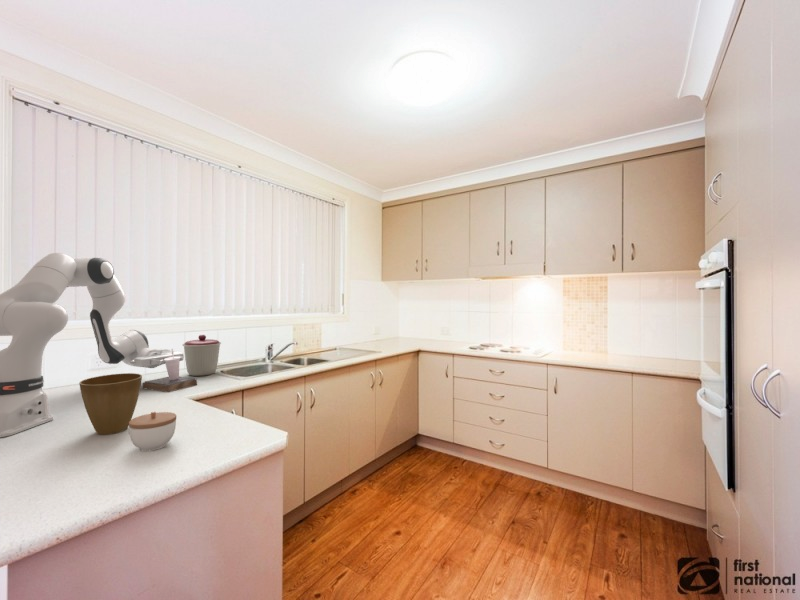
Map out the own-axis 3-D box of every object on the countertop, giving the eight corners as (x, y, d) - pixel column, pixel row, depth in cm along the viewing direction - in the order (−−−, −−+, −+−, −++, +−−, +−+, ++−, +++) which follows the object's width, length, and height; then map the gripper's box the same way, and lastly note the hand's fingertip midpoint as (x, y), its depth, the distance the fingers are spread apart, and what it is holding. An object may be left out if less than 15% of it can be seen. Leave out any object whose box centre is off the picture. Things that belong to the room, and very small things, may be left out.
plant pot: (92, 425, 114) (92, 375, 114) (148, 420, 119) (148, 372, 119) (68, 443, 100) (68, 385, 100) (132, 436, 105) (132, 381, 105)
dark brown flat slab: (168, 391, 155) (168, 384, 155) (142, 388, 161) (142, 381, 161) (196, 384, 168) (196, 378, 168) (172, 381, 174) (172, 375, 174)
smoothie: (176, 380, 163) (173, 350, 162) (162, 381, 163) (159, 351, 162) (185, 376, 170) (182, 347, 168) (171, 376, 170) (168, 347, 168)
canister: (173, 376, 186) (173, 335, 186) (202, 370, 203) (202, 332, 203) (201, 379, 181) (201, 336, 181) (228, 372, 198) (228, 333, 198)
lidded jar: (168, 436, 106) (168, 404, 106) (182, 445, 99) (182, 411, 99) (123, 447, 98) (123, 412, 98) (135, 458, 91) (135, 421, 91)
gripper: (127, 354, 160) (149, 356, 155) (171, 349, 179) (191, 350, 174) (127, 369, 160) (148, 371, 155) (171, 361, 179) (191, 363, 174)
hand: (171, 360), depth 164 cm, fingers open, 8 cm apart
